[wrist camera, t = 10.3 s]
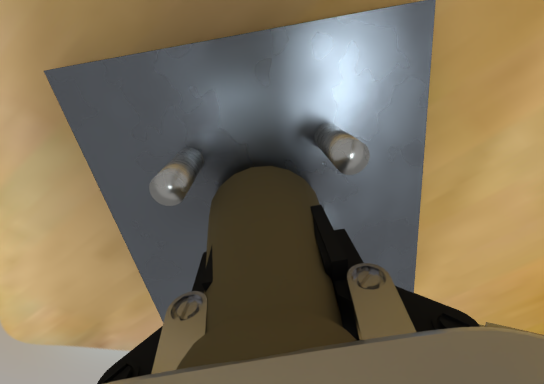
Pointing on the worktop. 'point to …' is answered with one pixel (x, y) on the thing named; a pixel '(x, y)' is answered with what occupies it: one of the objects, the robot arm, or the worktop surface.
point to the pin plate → (260, 133)
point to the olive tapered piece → (265, 272)
